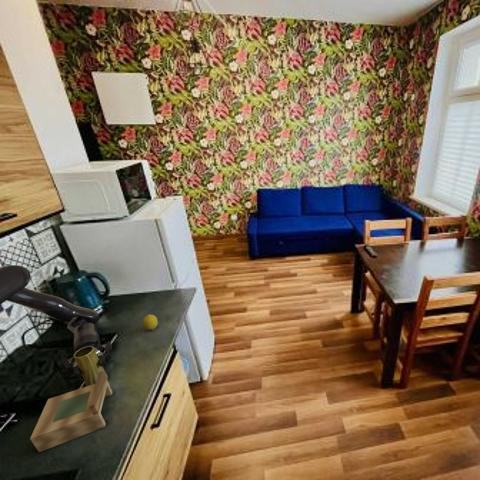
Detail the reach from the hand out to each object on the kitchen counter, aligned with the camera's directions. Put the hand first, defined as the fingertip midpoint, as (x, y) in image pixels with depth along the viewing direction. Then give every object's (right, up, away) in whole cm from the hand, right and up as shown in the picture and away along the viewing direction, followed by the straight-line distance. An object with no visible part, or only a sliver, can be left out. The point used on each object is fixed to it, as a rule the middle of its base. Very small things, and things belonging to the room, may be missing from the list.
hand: (90, 369), depth 90 cm
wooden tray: (+3, -12, -7) cm, 14 cm away
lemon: (+2, +4, +30) cm, 30 cm away
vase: (-2, -7, +5) cm, 9 cm away
